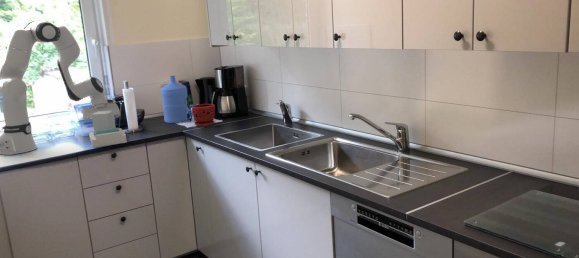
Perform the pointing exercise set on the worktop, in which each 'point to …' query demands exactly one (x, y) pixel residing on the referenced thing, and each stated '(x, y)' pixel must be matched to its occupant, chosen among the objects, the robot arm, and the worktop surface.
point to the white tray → (108, 138)
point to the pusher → (107, 131)
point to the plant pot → (203, 114)
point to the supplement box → (103, 120)
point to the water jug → (174, 102)
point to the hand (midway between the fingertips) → (103, 124)
